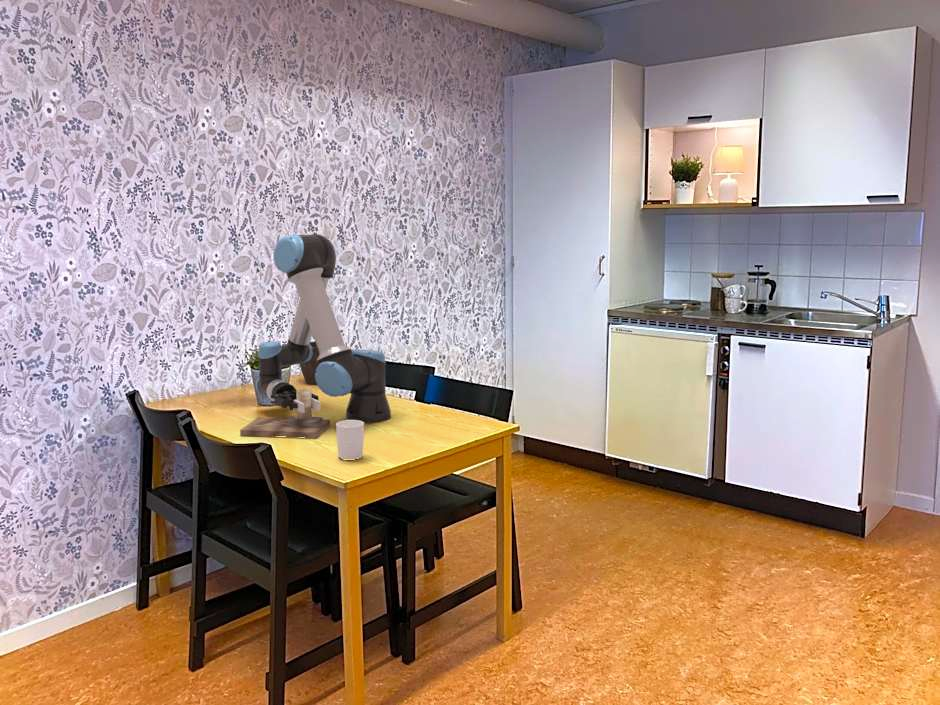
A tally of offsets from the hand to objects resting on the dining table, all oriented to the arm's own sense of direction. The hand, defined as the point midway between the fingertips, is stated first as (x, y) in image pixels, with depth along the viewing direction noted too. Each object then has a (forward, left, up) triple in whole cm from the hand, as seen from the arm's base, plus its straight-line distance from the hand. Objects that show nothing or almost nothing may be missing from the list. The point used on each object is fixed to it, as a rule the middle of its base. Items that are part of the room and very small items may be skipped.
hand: (311, 406), depth 249 cm
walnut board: (+9, -4, -9) cm, 14 cm away
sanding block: (+3, -4, -7) cm, 9 cm away
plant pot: (+21, -75, -9) cm, 78 cm away
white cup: (-18, +21, -9) cm, 29 cm away
